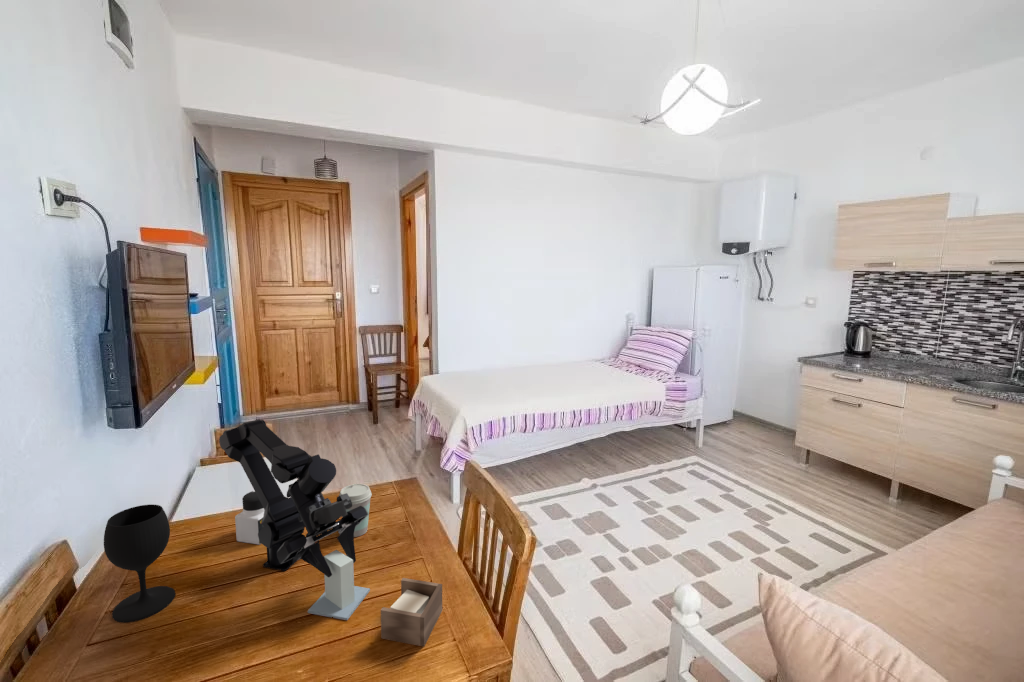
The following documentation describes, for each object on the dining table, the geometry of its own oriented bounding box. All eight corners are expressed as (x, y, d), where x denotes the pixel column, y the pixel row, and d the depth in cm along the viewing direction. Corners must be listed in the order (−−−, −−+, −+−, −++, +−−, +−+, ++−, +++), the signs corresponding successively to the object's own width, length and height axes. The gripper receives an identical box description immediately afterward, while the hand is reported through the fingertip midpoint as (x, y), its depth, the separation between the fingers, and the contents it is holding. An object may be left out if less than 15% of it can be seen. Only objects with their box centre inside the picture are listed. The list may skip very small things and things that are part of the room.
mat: (307, 612, 92) (307, 610, 92) (333, 584, 101) (333, 582, 101) (347, 620, 91) (347, 618, 90) (370, 590, 99) (369, 588, 99)
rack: (381, 638, 86) (380, 610, 85) (403, 603, 95) (402, 577, 95) (424, 646, 84) (424, 617, 84) (442, 610, 94) (442, 584, 93)
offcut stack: (388, 631, 88) (387, 610, 88) (405, 608, 94) (405, 588, 94) (415, 639, 86) (415, 618, 86) (431, 615, 92) (431, 596, 92)
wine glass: (104, 629, 87) (93, 534, 84) (120, 596, 96) (110, 508, 93) (170, 612, 92) (161, 521, 89) (179, 582, 101) (172, 498, 98)
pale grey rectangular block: (325, 597, 96) (323, 556, 95) (337, 589, 99) (336, 549, 97) (342, 609, 93) (340, 567, 92) (354, 601, 95) (353, 559, 94)
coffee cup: (360, 519, 128) (358, 479, 127) (379, 529, 123) (378, 488, 122) (333, 532, 121) (331, 491, 120) (352, 544, 116) (350, 500, 115)
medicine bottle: (259, 545, 115) (257, 501, 114) (235, 541, 117) (232, 498, 115) (279, 530, 122) (277, 488, 121) (256, 527, 124) (254, 485, 122)
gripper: (281, 504, 87) (315, 578, 82) (362, 471, 102) (395, 533, 97) (263, 528, 93) (294, 599, 88) (342, 494, 108) (373, 553, 103)
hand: (342, 569), depth 94 cm, fingers open, 5 cm apart
